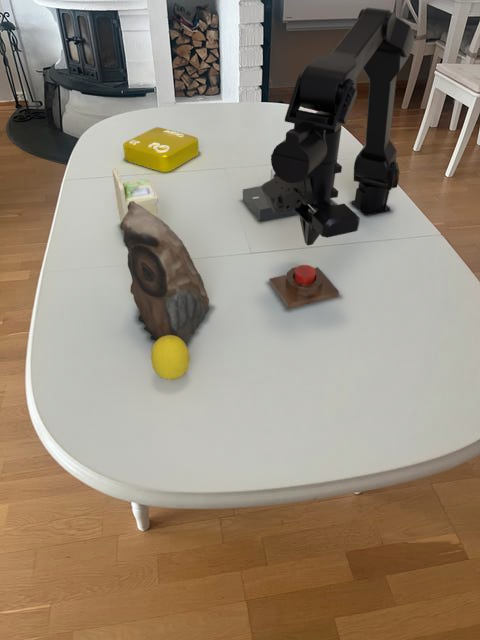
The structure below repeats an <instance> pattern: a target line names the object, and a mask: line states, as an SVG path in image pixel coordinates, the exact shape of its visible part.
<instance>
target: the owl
mask: <svg viewBox="0 0 480 640" xmlns="http://www.w3.org/2000/svg"><path fill="white" fill-rule="evenodd" d="M119 228H120V229H121V231H122V232H123V231H124V232H123V244H124V245H125V247H126V249H127V251H128V253H127V268H128V270H129V273H130V276H131V284H130V289H129V290H130V293H131V295H132V296H133V301H134V303H135V305H136V307H137V309H138V311H139V316H138V317H137V318H138V322H139V323H142V324H143V325H144V328H143V330H144V331H146V332H148V333H149V335H150V337H149V338H150V340H152V341H155V342H156V341H157V340H158V339H159V338H161V337H163V336H166V335H174V336H177V337H179V338H180V339H182V340H183V341H184V343H185V344H186V345H187V342H189V340H190V339H189V338H190V337H191V336H192V335H194V334H195V331H196V329H197V328H198V327H199V325H200V324H201V323H203V322H204V320H205V319H206V317H207V314H208V313H209V311H210V309H211V306H210V298H209V297H208V293H207V290H206V287H205V283H204V280H203V279H202V276H201V274H200V273H199V271H198V269H197V268H196V266H195V264H194V262H193V259H192V257H191V255H190V252H189V251H188V248H187V247H186V246H185V244H184V242H183V240H182V239H181V238H180V237H179V236H178V235H177V234H176V232H174V231H173V229H172V228H171V227H170V226H169V225H168V224H167V223H166V222H164V221H163V220H161V218H159V217H158V218H157V217H156V216H154V215H153V214H151V213H150V212H148V211H147V210H146V209H144V208H143V207H142V206H140V205H138V204H136V203H135V202H134V201H131V202H129V205H128V212H127V214H126V215H125V217H124V218H123V220H122V222H120V225H119Z"/></svg>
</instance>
